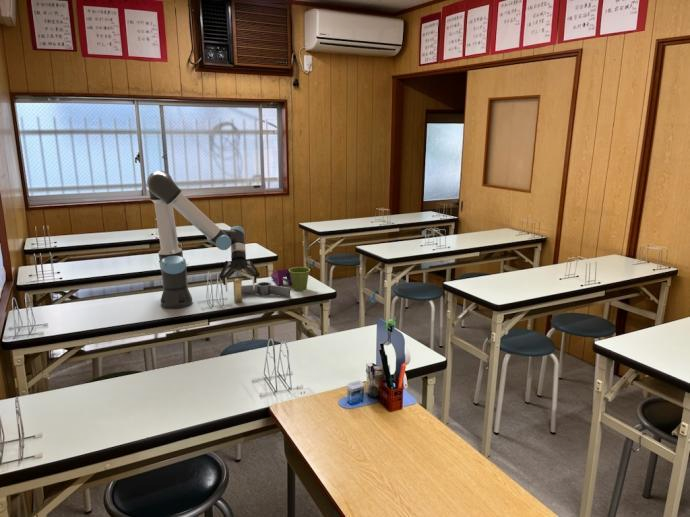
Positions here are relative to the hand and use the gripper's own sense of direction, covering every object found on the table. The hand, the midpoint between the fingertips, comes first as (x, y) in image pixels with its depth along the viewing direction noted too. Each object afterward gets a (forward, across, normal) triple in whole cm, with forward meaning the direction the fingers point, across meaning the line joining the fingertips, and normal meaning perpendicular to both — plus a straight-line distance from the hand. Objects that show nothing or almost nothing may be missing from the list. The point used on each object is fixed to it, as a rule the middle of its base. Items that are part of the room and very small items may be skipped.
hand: (240, 289), depth 253 cm
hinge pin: (+5, +1, -4) cm, 7 cm away
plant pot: (-5, -32, -15) cm, 35 cm away
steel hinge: (-2, -12, -12) cm, 17 cm away
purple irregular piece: (-15, -24, -26) cm, 38 cm away
